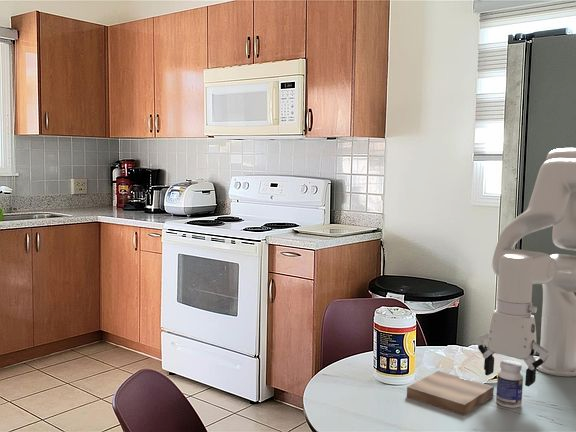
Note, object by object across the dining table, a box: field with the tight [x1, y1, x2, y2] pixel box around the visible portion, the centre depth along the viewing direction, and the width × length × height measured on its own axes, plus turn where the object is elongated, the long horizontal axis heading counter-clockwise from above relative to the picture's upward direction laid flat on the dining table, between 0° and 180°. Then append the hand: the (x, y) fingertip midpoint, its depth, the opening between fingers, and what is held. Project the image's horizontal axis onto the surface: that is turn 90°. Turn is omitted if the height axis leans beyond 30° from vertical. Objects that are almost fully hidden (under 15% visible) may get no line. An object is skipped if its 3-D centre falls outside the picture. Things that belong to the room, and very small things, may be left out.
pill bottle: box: [495, 359, 524, 409], centre depth 148 cm, size 6×6×10 cm
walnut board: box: [406, 370, 495, 416], centre depth 152 cm, size 15×15×2 cm
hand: (508, 379), depth 147 cm, fingers open, 9 cm apart
